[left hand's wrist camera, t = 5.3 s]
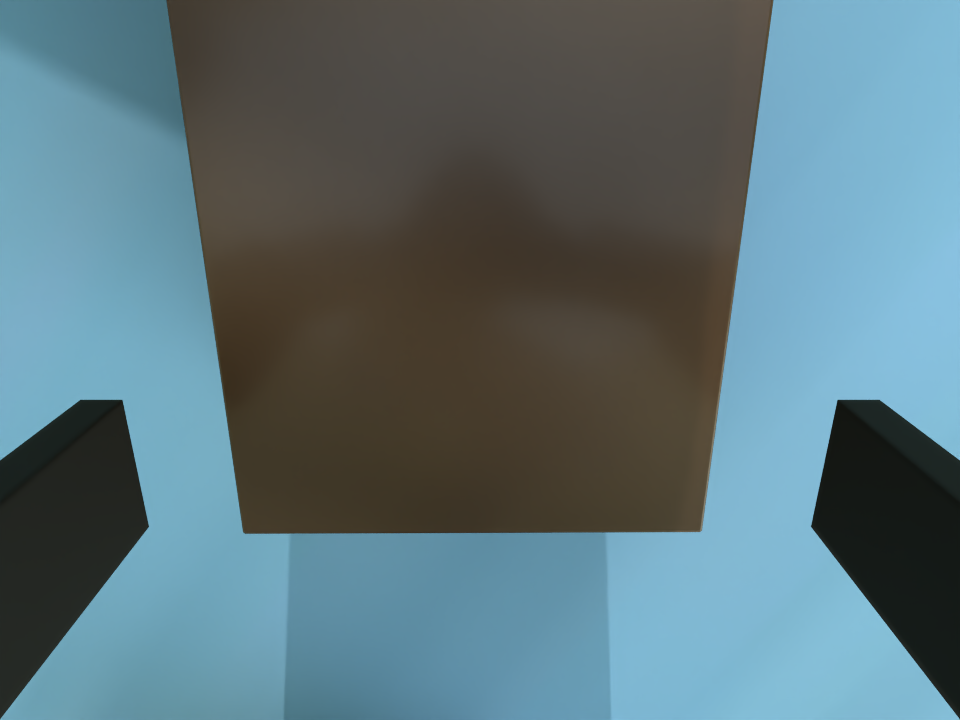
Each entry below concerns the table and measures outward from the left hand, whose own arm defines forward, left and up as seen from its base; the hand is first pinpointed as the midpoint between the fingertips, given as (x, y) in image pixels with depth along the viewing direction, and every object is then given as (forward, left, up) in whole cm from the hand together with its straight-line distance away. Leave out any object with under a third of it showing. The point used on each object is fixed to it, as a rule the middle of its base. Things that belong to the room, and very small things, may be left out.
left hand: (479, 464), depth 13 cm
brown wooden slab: (+3, -6, -11) cm, 13 cm away
